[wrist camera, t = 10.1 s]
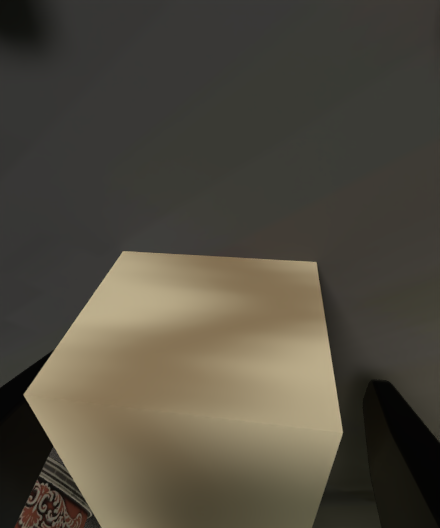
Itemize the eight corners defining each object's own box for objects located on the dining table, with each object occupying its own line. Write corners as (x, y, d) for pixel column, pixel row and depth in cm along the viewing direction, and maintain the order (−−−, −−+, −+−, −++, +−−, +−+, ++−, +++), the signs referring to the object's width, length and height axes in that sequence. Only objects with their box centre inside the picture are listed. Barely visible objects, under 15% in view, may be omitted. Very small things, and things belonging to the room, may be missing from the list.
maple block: (316, 258, 9) (343, 433, 5) (290, 417, 12) (295, 578, 9) (125, 248, 9) (23, 394, 6) (158, 401, 13) (112, 546, 10)
